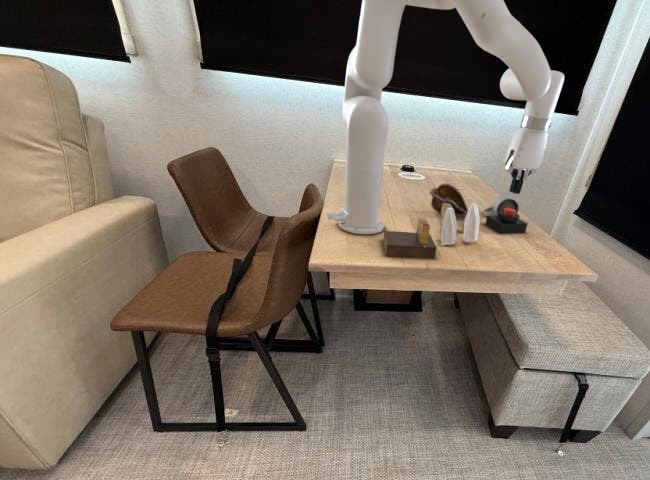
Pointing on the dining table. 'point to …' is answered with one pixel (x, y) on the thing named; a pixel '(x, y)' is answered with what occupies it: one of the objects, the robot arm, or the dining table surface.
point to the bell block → (506, 223)
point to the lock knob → (422, 230)
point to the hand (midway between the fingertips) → (514, 192)
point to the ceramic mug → (502, 205)
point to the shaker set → (469, 226)
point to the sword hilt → (448, 201)
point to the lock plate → (407, 245)
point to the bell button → (509, 212)
